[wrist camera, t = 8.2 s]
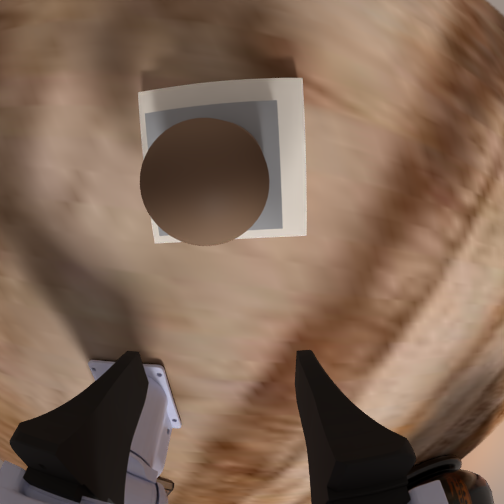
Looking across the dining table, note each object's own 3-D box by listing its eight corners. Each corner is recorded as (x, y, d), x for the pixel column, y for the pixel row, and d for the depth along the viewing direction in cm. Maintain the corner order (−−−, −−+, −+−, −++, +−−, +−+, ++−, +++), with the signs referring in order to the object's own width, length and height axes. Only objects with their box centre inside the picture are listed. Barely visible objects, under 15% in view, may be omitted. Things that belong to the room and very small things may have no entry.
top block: (279, 216, 20) (282, 228, 18) (169, 222, 20) (159, 236, 18) (273, 103, 17) (277, 100, 15) (158, 114, 17) (144, 113, 15)
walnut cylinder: (266, 210, 17) (271, 243, 13) (175, 215, 17) (149, 248, 13) (262, 117, 15) (267, 113, 11) (167, 125, 15) (134, 126, 11)
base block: (301, 224, 23) (306, 235, 20) (164, 231, 23) (154, 243, 21) (296, 83, 19) (302, 78, 17) (150, 95, 19) (138, 92, 17)
